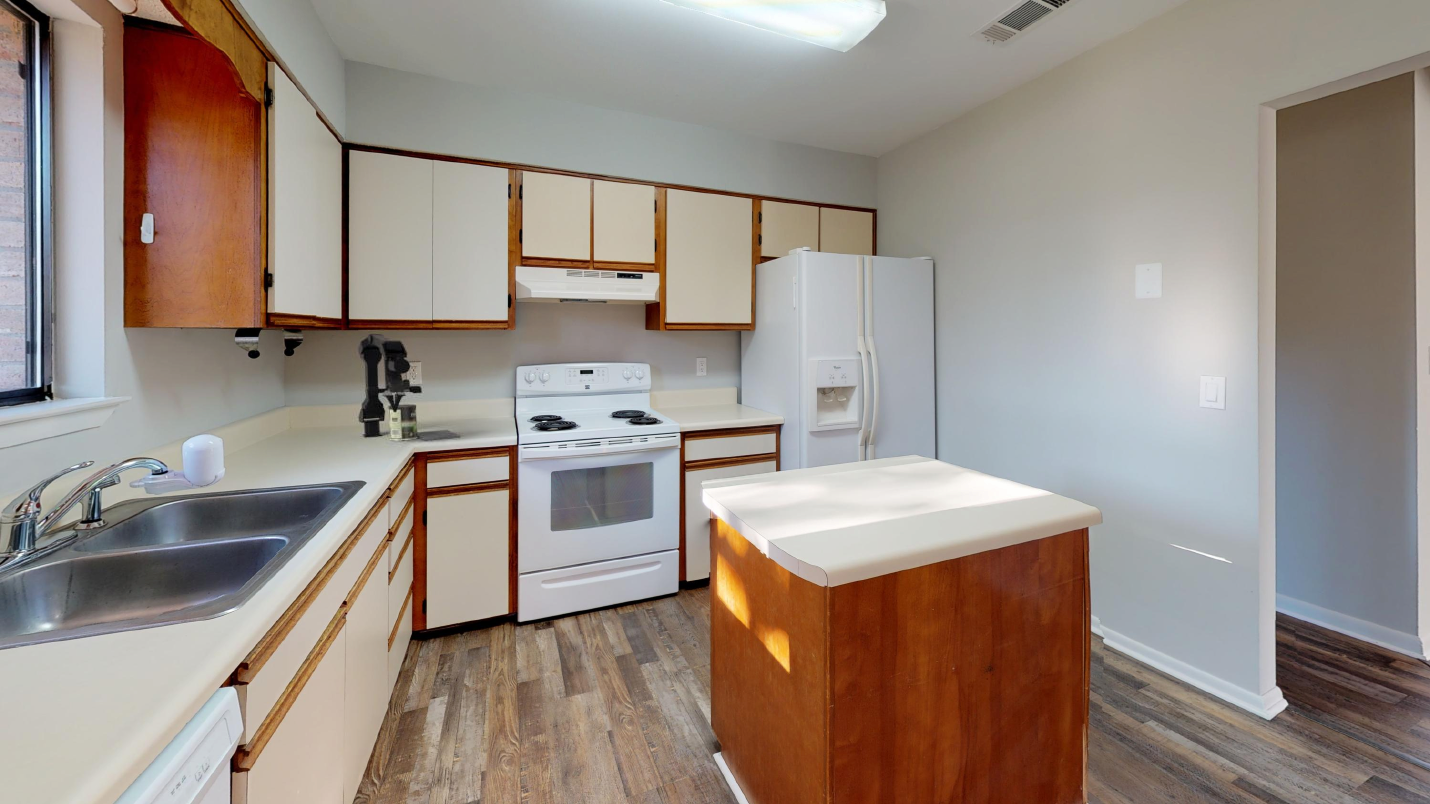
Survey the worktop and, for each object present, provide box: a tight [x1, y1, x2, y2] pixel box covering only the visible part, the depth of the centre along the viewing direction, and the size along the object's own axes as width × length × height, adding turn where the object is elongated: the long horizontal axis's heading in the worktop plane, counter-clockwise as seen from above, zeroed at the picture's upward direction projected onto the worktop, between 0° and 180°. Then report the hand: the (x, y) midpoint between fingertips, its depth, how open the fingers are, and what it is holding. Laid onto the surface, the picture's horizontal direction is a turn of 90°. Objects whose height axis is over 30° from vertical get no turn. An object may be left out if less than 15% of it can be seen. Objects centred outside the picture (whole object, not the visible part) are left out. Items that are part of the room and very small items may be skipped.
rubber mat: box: [417, 429, 461, 441], centre depth 243 cm, size 20×14×1 cm
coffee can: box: [387, 403, 418, 442], centre depth 235 cm, size 10×10×14 cm
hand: (395, 412), depth 221 cm, fingers closed
